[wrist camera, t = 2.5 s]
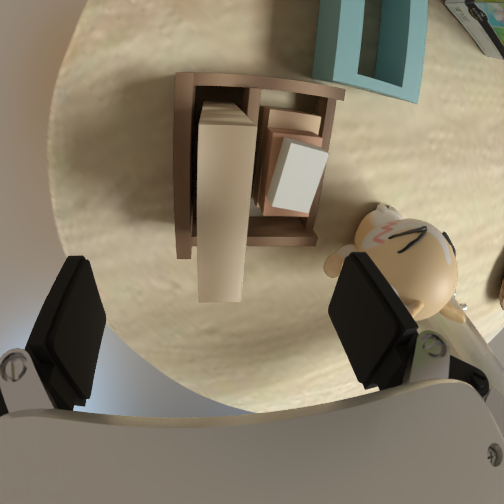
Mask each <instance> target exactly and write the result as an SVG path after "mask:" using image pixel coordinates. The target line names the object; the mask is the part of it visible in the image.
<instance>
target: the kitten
mask: <svg viewBox="0 0 504 504" xmlns="http://www.w3.org/2000/svg"><path fill="white" fill-rule="evenodd" d="M354 242H355V244H349V245H345V246H343V247H341V248H340V249H338V250H337V251H336V252H334V253H333V254H331V255H330V256H329V257H328V258H327V259H326V261H325V263H324V272H325V274H326V275H327V276H329V277H331V278H335V277H337V276H338V275H339V274H340V272H341V268H342V264H343V262H344V260H345V257H346V256H349V254H350V253H351V252H366V253H367V254H368V255H369V257H370V258H371V259H372V261H373V262H374V263H375V265H376V266H377V267H378V269H379V270H380V271H381V273H382V274H383V276H384V277H385V278H386V280H387V281H388V282H389V284H390V285H391V287H392V288H393V289H394V291H395V292H396V294H397V295H398V297H399V298H400V299H401V301H402V302H403V304H404V305H405V307H406V308H407V310H408V311H409V313H410V314H411V316H412V317H413V319H414V320H415V321H419V320H423V319H426V318H429V317H431V316H433V315H435V314H436V313H438V312H440V314H441V315H443V316H444V317H446V318H447V319H450V320H452V321H455V322H458V323H461V324H463V323H465V321H466V318H465V315H464V313H463V311H462V309H461V308H460V306H459V305H458V303H457V302H456V300H455V298H454V296H453V293H454V291H455V288H456V284H457V279H458V267H457V261H456V251H455V248H454V246H453V244H452V243H451V241H450V239H449V237H448V235H447V233H445V232H443V233H441V232H440V231H439V230H438V229H437V228H436V227H434V226H433V225H431V224H429V223H427V222H424V221H421V220H416V219H403V218H402V216H401V214H400V213H399V212H398V211H397V210H396V209H395V208H394V207H389V208H388V209H387V207H386V206H385V205H384V204H378V205H377V207H376V210H375V211H372V212H370V213H369V214H367V215H366V216H365V217H364V218H363V220H362V221H361V223H360V225H359V227H358V229H357V231H356V234H355V238H354ZM450 245H451V246H452V248H453V250H452V248H451V246H450Z"/></svg>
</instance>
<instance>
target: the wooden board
mask: <svg viewBox="0 0 504 504" xmlns="http://www.w3.org/2000/svg"><path fill="white" fill-rule="evenodd" d="M256 136H257V126H256V125H255V124H254V123H253V122H252V121H251V120H250V119H249V118H248V117H247V116H246V115H245V114H244V112H243V111H241V110H240V109H239V108H238V107H237V106H236V105H235V104H234V103H233V102H230V101H204V103H203V107H202V112H201V117H200V121H199V132H198V163H197V263H198V295H199V303H201V302H241V297H242V286H243V275H244V264H245V253H246V242H247V231H248V220H249V210H250V199H251V188H252V178H253V167H254V157H255V147H256Z"/></svg>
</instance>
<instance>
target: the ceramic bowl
mask: <svg viewBox="0 0 504 504" xmlns="http://www.w3.org/2000/svg"><path fill="white" fill-rule="evenodd" d="M499 300H500V305H501V307H502V309H503V310H504V279H503V282H502V285H501V289H500V294H499Z"/></svg>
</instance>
